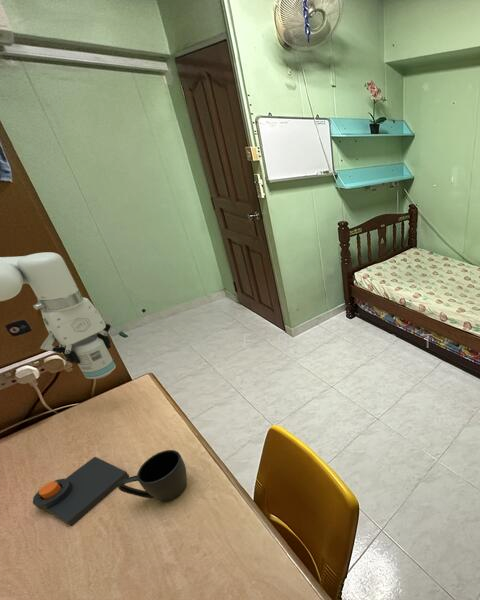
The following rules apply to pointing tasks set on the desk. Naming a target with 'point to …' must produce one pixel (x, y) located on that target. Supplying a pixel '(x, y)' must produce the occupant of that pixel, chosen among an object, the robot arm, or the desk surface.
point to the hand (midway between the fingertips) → (91, 354)
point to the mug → (159, 477)
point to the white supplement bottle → (93, 357)
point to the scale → (82, 490)
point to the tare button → (49, 490)
